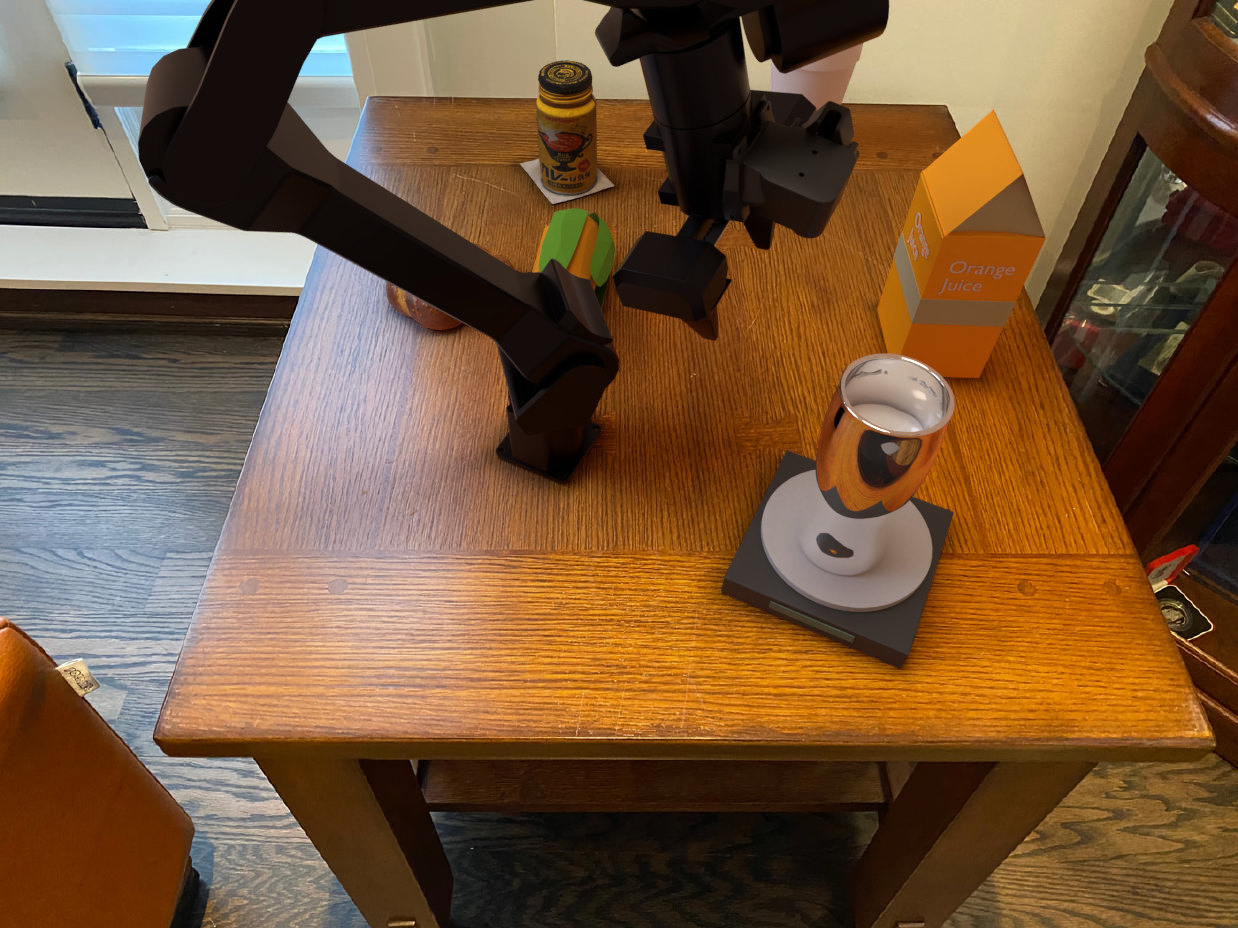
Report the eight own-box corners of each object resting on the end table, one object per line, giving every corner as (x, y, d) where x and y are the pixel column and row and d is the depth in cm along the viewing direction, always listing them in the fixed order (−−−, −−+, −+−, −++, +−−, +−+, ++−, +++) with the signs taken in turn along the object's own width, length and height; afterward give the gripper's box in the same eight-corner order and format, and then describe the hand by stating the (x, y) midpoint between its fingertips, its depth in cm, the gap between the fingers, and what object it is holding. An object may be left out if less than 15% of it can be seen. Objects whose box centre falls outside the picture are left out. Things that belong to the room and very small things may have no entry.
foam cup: (834, 172, 95) (862, 54, 85) (750, 160, 96) (768, 42, 86) (841, 128, 101) (867, 12, 91) (762, 117, 102) (779, 2, 92)
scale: (900, 670, 58) (911, 652, 56) (720, 593, 61) (724, 574, 59) (945, 527, 65) (956, 506, 63) (782, 465, 69) (788, 444, 67)
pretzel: (507, 250, 86) (504, 218, 83) (527, 322, 79) (524, 290, 76) (384, 267, 84) (376, 234, 81) (393, 342, 77) (385, 310, 74)
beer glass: (899, 582, 59) (972, 439, 48) (797, 581, 59) (846, 438, 47) (879, 500, 64) (942, 350, 52) (785, 499, 63) (826, 349, 52)
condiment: (552, 206, 90) (547, 95, 81) (519, 165, 95) (511, 56, 86) (614, 188, 93) (616, 78, 83) (579, 149, 97) (577, 41, 88)
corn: (621, 185, 79) (584, 331, 67) (624, 253, 85) (592, 400, 73) (541, 182, 80) (491, 326, 68) (551, 250, 86) (506, 394, 74)
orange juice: (891, 375, 75) (967, 170, 60) (875, 308, 81) (941, 104, 65) (981, 378, 75) (1080, 174, 60) (959, 311, 81) (1044, 108, 65)
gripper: (764, 229, 43) (792, 419, 55) (894, 10, 50) (893, 220, 63) (577, 199, 48) (641, 378, 60) (720, 4, 55) (751, 200, 68)
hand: (737, 291), depth 62 cm, fingers open, 9 cm apart
